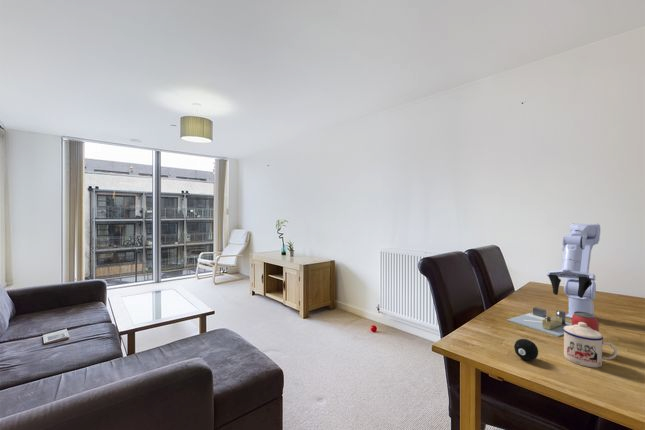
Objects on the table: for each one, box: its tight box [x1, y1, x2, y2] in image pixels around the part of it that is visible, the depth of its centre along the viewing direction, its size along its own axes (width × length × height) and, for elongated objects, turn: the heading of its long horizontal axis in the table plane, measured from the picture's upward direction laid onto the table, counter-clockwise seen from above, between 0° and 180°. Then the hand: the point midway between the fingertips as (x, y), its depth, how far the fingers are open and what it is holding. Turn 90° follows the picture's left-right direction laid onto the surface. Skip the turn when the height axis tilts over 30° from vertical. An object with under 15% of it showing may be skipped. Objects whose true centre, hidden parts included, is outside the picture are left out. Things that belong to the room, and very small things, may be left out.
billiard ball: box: [513, 338, 539, 361], centre depth 87 cm, size 6×6×6 cm
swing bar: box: [542, 315, 562, 329], centre depth 111 cm, size 10×2×4 cm, turn 118°
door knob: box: [555, 310, 567, 326], centre depth 115 cm, size 4×4×5 cm
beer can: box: [571, 311, 600, 333], centre depth 93 cm, size 7×7×12 cm
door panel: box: [506, 312, 572, 338], centre depth 116 cm, size 19×18×1 cm
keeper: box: [532, 307, 547, 318], centre depth 124 cm, size 2×4×3 cm, turn 28°
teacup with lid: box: [563, 322, 618, 368], centre depth 86 cm, size 12×9×12 cm
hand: (567, 295), depth 108 cm, fingers open, 7 cm apart
